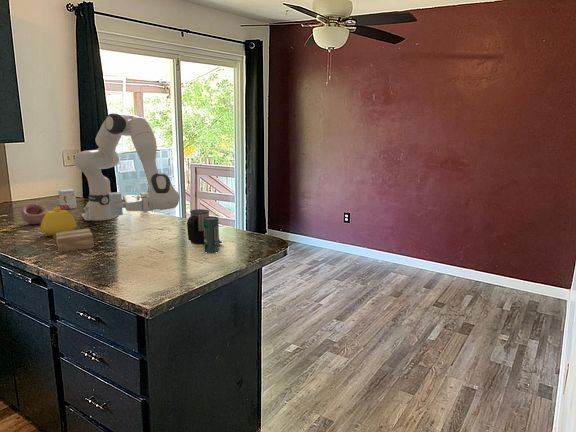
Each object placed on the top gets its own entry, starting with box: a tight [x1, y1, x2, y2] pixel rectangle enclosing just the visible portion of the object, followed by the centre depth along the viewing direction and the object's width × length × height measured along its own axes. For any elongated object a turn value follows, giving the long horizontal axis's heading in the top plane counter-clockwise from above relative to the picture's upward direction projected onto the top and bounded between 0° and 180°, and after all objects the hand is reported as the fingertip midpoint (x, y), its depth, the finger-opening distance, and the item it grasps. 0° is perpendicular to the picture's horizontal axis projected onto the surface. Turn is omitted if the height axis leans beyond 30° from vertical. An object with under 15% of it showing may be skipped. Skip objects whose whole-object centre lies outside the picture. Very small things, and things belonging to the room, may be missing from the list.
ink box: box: [58, 188, 78, 210], centre depth 274 cm, size 9×5×12 cm, turn 138°
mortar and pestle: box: [20, 203, 47, 225], centre depth 234 cm, size 12×12×11 cm
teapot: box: [40, 206, 78, 239], centre depth 214 cm, size 20×16×14 cm
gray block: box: [109, 191, 124, 216], centre depth 203 cm, size 5×5×10 cm
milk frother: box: [186, 208, 223, 245], centre depth 201 cm, size 14×16×15 cm
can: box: [203, 215, 220, 254], centre depth 189 cm, size 6×6×15 cm
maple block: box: [55, 228, 95, 253], centre depth 196 cm, size 14×14×6 cm
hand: (113, 203), depth 203 cm, fingers closed on gray block, 5 cm apart
